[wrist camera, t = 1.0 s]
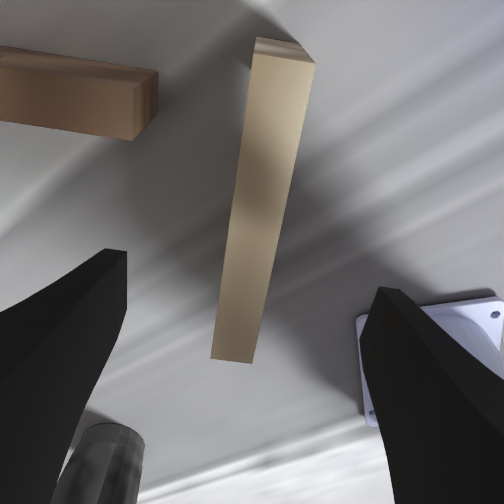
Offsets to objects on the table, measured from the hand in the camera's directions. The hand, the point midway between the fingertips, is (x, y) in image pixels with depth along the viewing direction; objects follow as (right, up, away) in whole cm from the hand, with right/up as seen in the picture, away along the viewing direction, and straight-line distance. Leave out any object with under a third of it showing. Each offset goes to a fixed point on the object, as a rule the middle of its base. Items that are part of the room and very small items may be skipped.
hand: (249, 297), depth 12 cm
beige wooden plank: (0, +5, +8) cm, 9 cm away
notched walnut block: (-11, +9, +6) cm, 15 cm away
